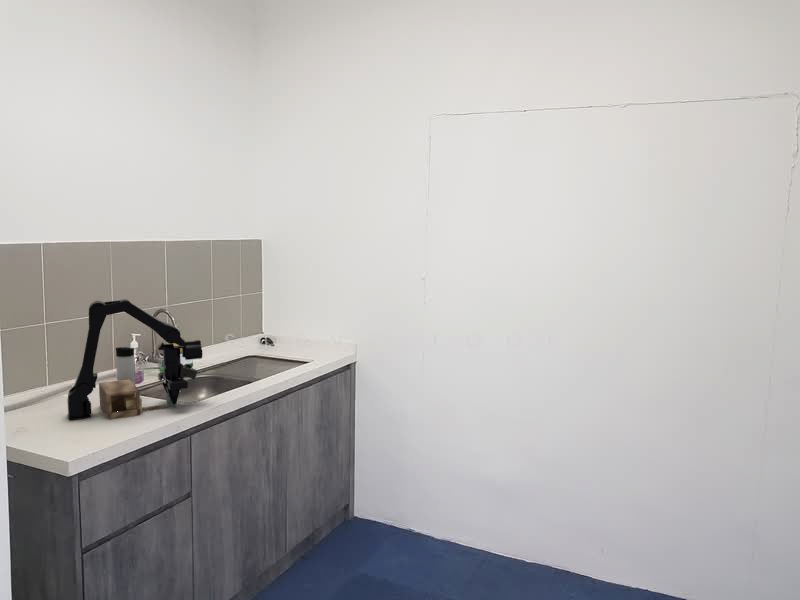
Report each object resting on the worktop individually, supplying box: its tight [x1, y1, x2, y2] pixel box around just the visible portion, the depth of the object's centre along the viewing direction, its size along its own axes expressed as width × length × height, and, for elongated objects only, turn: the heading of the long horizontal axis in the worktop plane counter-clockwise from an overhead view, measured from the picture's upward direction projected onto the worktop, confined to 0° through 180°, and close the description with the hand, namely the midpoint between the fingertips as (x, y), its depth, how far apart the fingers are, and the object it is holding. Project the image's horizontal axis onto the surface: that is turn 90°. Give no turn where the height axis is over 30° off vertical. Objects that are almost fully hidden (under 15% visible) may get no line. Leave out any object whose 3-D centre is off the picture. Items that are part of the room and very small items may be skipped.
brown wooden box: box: [98, 379, 141, 420], centre depth 221 cm, size 10×18×9 cm, turn 33°
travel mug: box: [115, 346, 137, 396], centre depth 235 cm, size 6×7×20 cm
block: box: [124, 393, 177, 414], centre depth 223 cm, size 17×5×5 cm, turn 124°
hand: (173, 403), depth 227 cm, fingers closed on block, 2 cm apart
